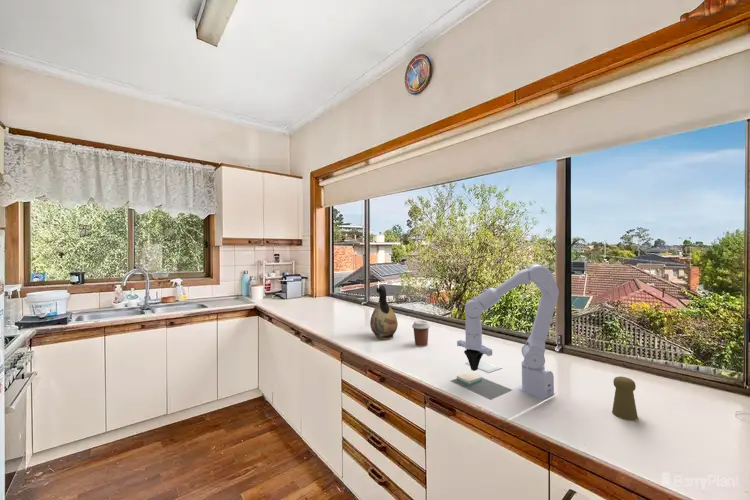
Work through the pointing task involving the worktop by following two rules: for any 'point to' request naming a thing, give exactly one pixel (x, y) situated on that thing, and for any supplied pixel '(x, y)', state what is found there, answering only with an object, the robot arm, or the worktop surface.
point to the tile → (469, 378)
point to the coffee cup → (421, 333)
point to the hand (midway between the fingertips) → (474, 369)
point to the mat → (485, 388)
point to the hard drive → (486, 366)
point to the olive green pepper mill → (624, 399)
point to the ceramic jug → (383, 318)
